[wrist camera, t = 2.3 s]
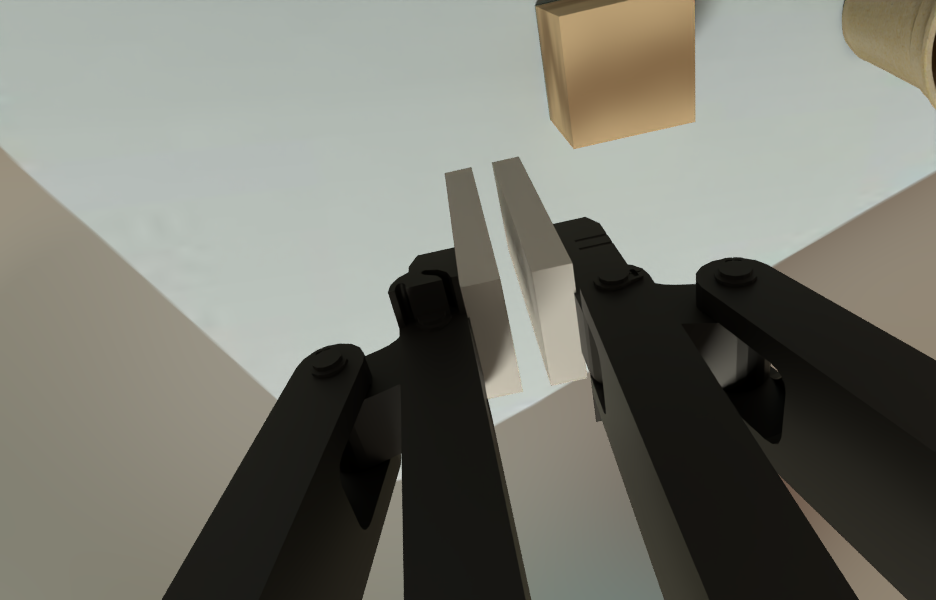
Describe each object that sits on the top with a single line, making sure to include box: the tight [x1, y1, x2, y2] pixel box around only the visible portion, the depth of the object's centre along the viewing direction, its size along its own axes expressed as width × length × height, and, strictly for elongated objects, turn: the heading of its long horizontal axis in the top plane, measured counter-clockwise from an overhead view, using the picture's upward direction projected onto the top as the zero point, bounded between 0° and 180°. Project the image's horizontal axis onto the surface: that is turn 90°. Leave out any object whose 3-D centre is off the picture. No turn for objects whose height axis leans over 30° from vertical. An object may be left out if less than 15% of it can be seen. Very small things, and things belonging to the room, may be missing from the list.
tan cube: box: [535, 0, 695, 149], centre depth 30 cm, size 6×6×6 cm
